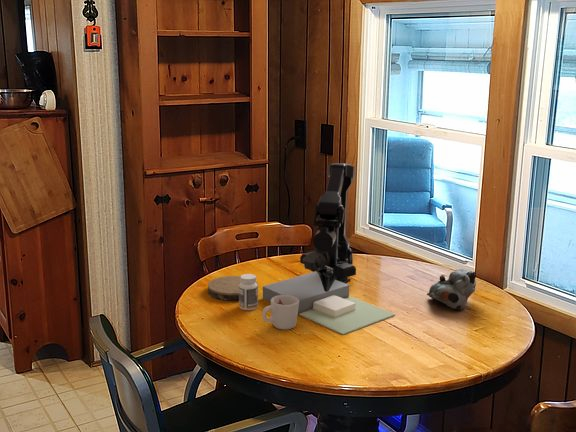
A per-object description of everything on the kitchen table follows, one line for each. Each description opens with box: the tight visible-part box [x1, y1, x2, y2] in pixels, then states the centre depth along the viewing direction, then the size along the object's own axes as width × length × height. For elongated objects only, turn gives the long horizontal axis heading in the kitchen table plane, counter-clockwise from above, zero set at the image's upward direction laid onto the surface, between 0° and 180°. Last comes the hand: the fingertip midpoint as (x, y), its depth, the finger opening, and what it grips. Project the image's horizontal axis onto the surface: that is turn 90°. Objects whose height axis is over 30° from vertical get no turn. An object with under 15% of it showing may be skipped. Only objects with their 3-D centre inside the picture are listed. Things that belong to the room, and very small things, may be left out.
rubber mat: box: [298, 296, 396, 336], centre depth 205 cm, size 22×18×1 cm
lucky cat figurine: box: [426, 268, 477, 312], centre depth 213 cm, size 15×12×14 cm
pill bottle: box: [238, 273, 259, 311], centre depth 208 cm, size 6×6×10 cm
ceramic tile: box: [313, 295, 356, 317], centre depth 208 cm, size 9×9×2 cm
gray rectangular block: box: [262, 271, 350, 315], centre depth 217 cm, size 22×16×4 cm
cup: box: [261, 295, 299, 331], centre depth 194 cm, size 11×8×8 cm
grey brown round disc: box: [207, 275, 259, 303], centre depth 221 cm, size 16×16×3 cm
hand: (326, 291), depth 210 cm, fingers closed
